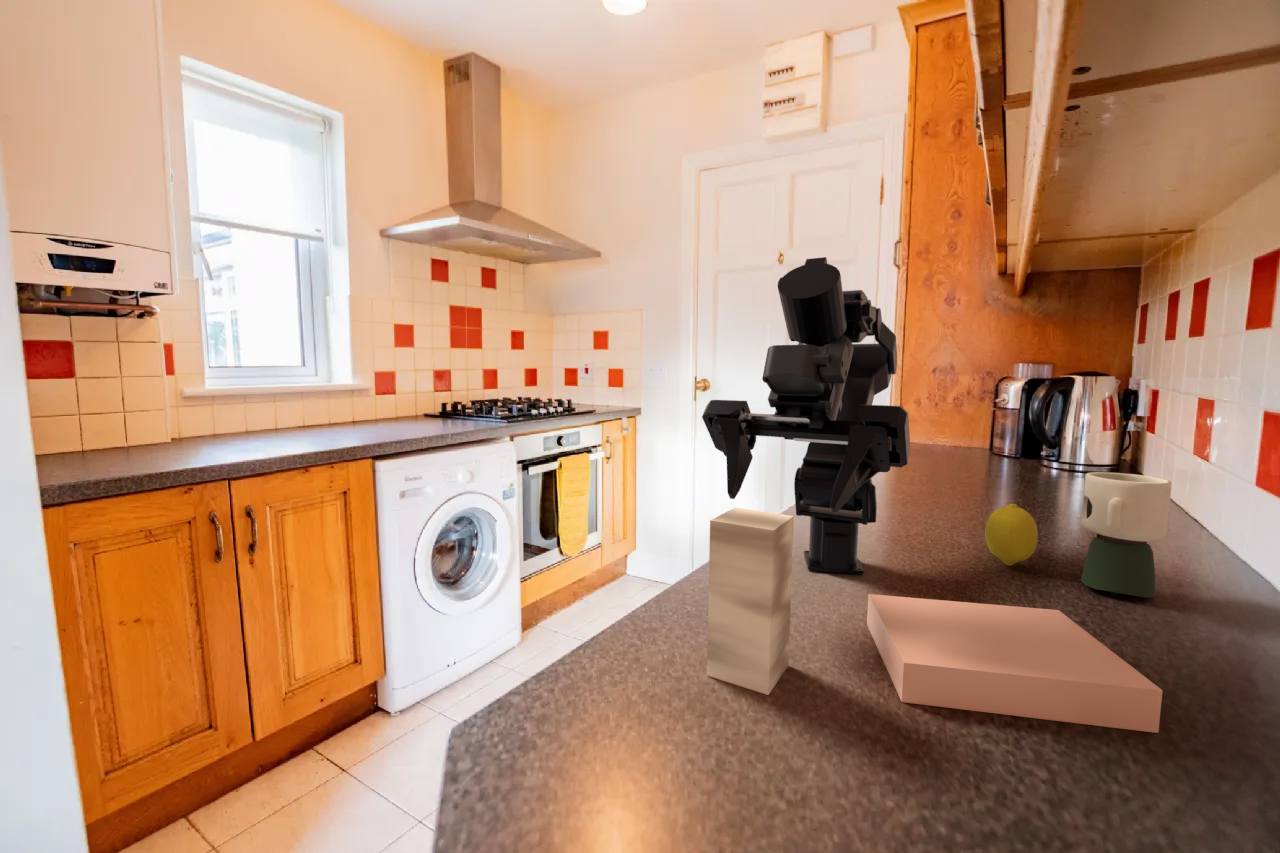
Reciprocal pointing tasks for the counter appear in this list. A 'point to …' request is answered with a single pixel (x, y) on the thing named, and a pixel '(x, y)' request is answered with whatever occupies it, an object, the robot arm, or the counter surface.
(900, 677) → the terracotta stand
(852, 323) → the robot arm
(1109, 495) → the character mug
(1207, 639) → the counter surface
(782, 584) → the birch block
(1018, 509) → the lemon
